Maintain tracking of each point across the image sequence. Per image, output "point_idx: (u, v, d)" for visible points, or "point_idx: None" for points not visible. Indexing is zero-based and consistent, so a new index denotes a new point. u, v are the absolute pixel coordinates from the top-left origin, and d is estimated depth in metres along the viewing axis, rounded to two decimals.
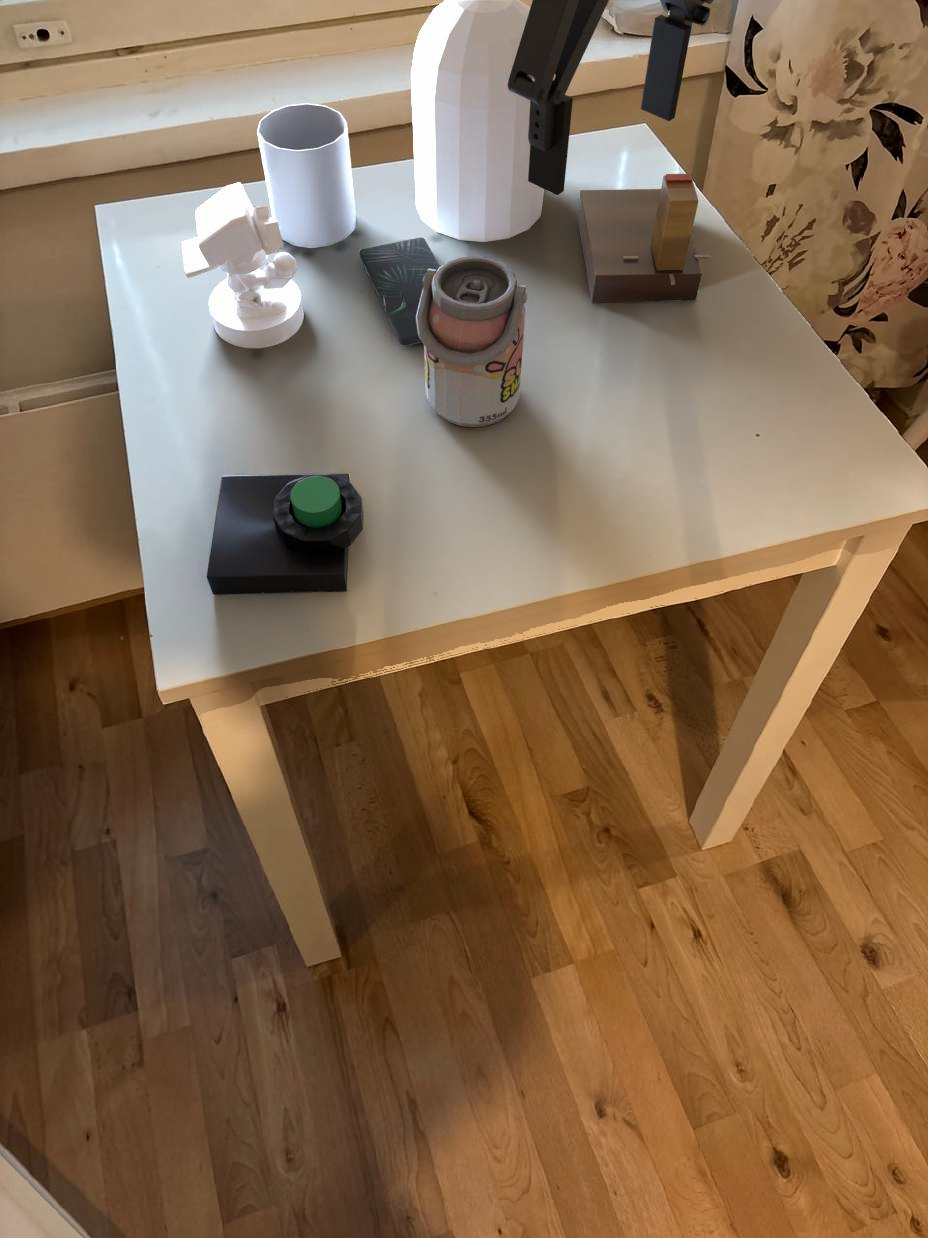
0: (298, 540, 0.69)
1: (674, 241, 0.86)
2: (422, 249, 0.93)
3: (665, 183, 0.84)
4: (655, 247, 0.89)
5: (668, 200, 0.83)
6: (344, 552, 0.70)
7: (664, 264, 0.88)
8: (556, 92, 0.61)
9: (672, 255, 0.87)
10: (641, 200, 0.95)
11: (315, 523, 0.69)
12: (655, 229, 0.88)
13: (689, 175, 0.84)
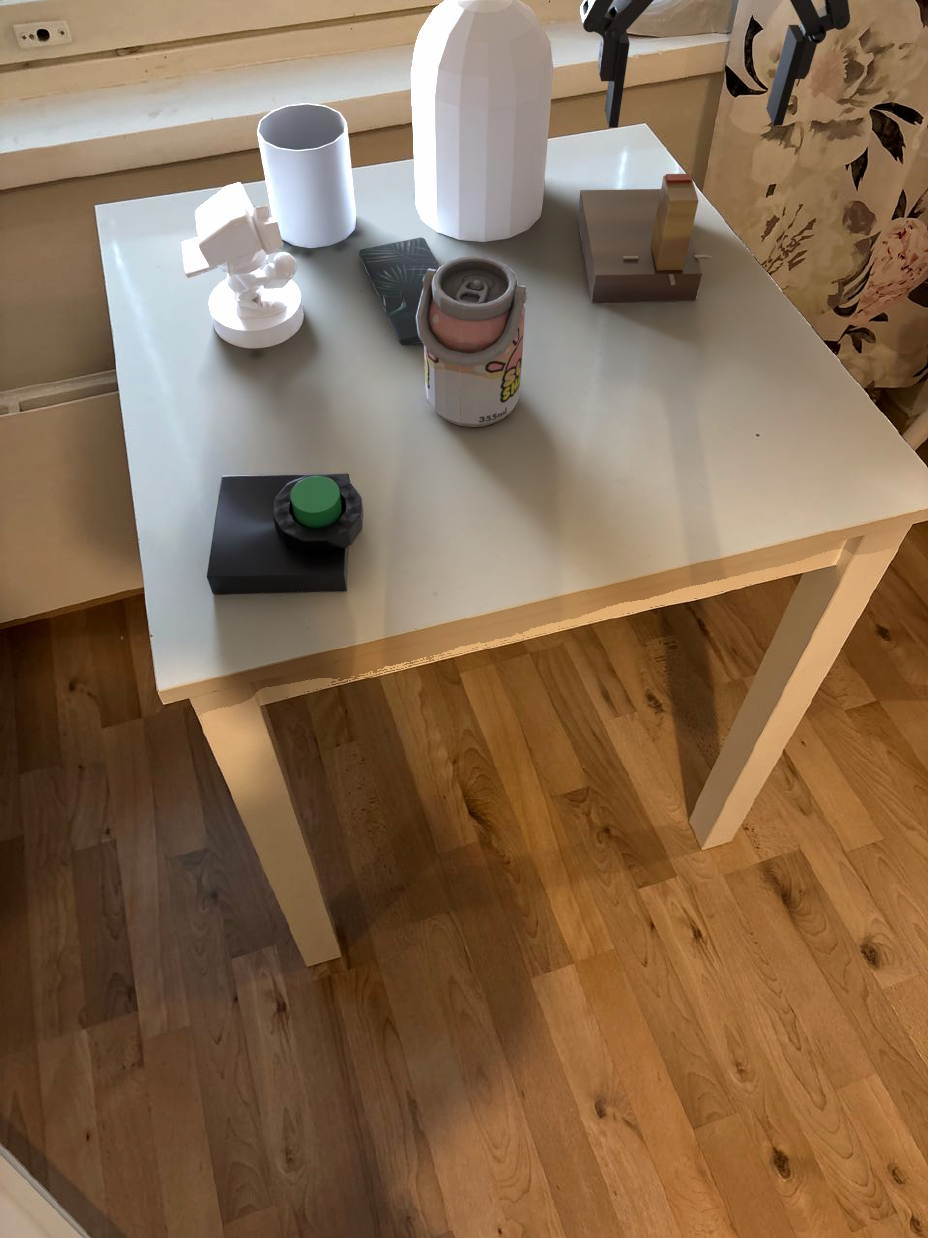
0: (298, 540, 0.69)
1: (674, 241, 0.86)
2: (422, 249, 0.93)
3: (665, 183, 0.84)
4: (655, 247, 0.89)
5: (668, 200, 0.83)
6: (344, 552, 0.70)
7: (664, 264, 0.88)
8: (609, 29, 0.72)
9: (672, 255, 0.87)
10: (641, 200, 0.95)
11: (315, 523, 0.69)
12: (655, 229, 0.88)
13: (689, 175, 0.84)
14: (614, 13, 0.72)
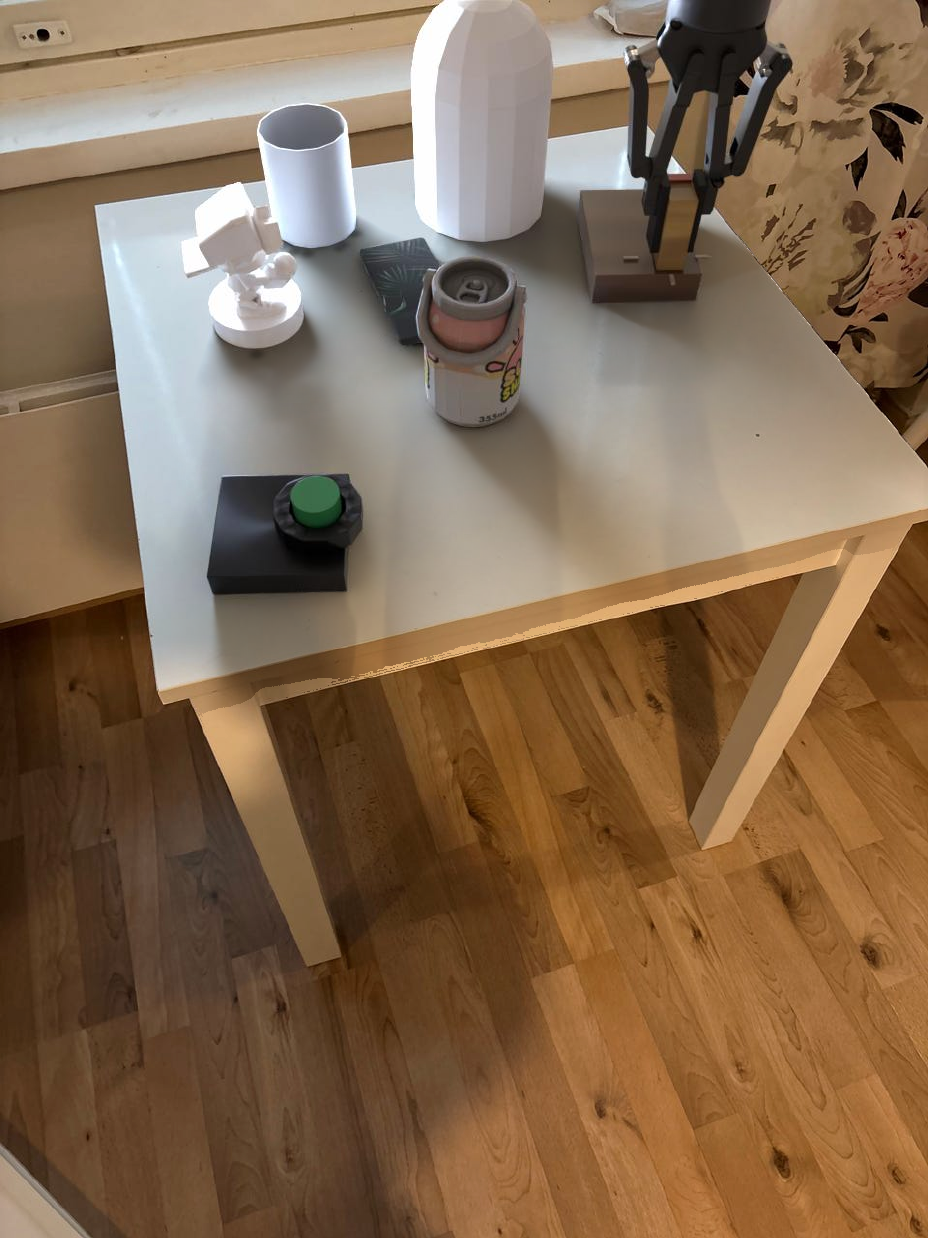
0: (298, 540, 0.69)
1: (674, 241, 0.86)
2: (422, 249, 0.93)
3: None
4: None
5: (668, 200, 0.83)
6: (344, 552, 0.70)
7: (664, 264, 0.88)
8: (652, 178, 0.82)
9: (672, 255, 0.87)
10: None
11: (315, 523, 0.69)
12: None
13: (689, 175, 0.84)
14: None
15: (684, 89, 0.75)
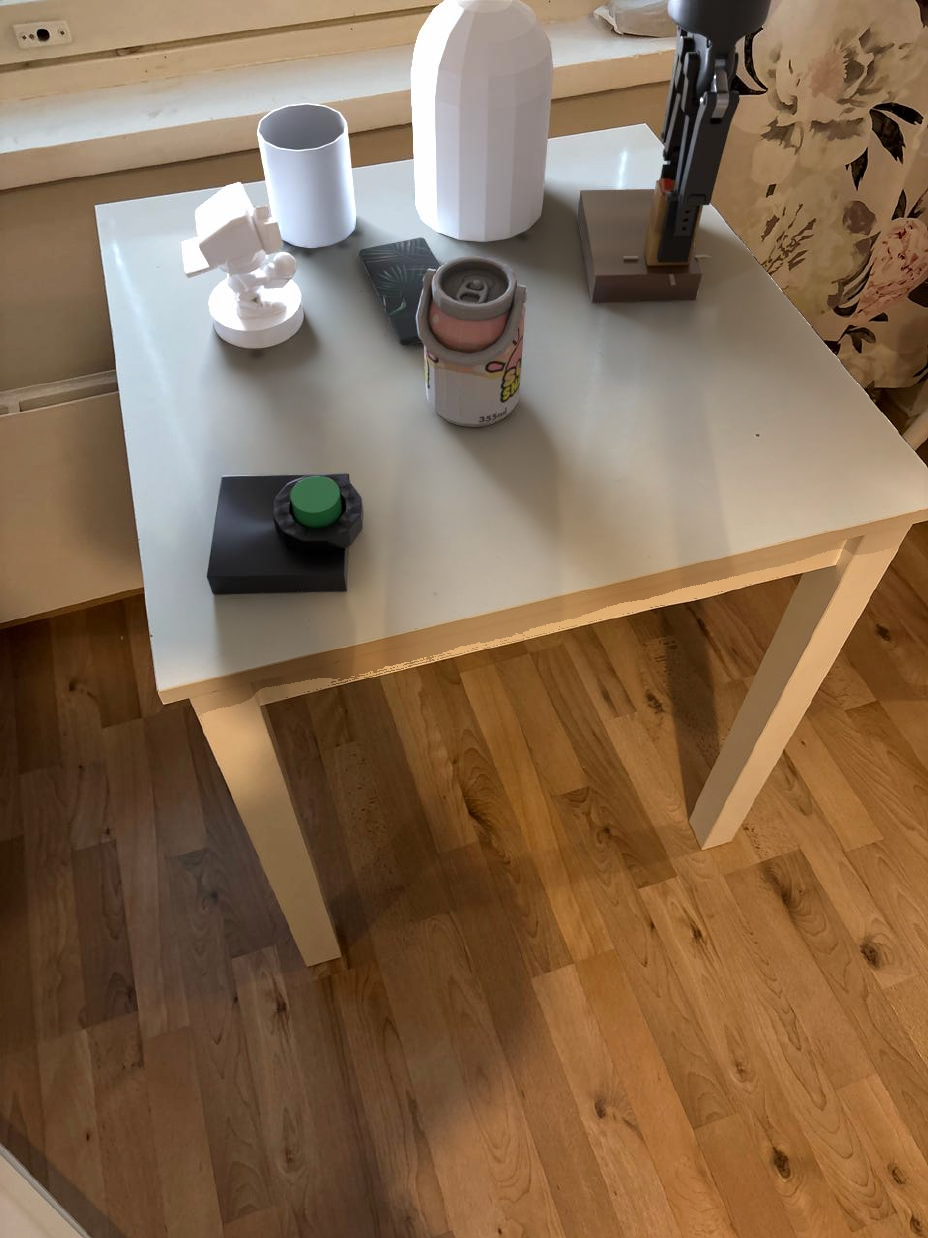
0: (298, 540, 0.69)
1: None
2: (422, 249, 0.93)
3: None
4: None
5: None
6: (344, 552, 0.70)
7: None
8: None
9: None
10: (641, 200, 0.95)
11: (315, 523, 0.69)
12: None
13: (663, 178, 0.84)
14: None
15: None
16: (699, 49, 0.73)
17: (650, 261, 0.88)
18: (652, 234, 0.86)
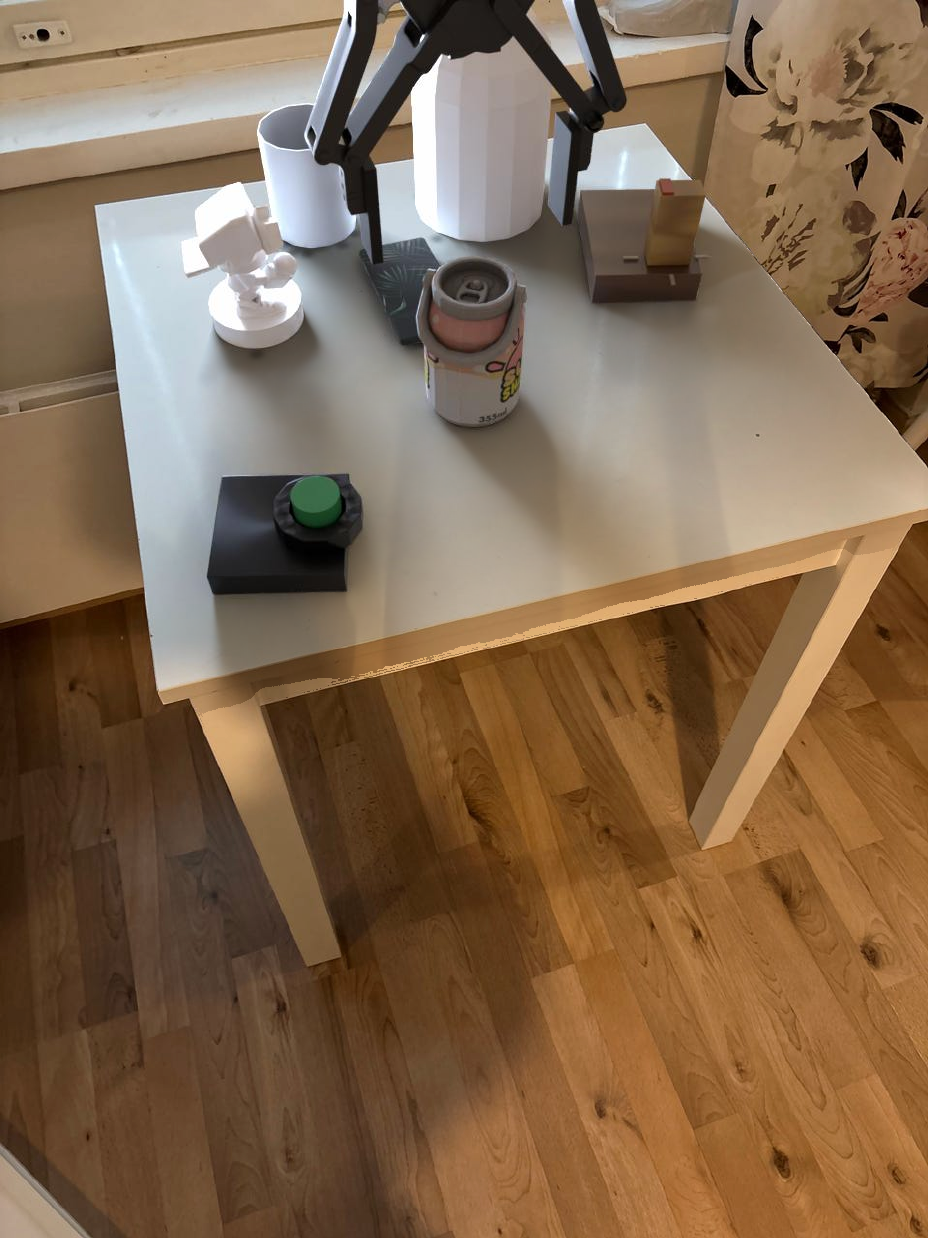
0: (298, 540, 0.69)
1: None
2: (422, 249, 0.93)
3: (673, 196, 0.83)
4: (671, 254, 0.88)
5: (697, 199, 0.83)
6: (344, 552, 0.70)
7: None
8: (347, 157, 0.57)
9: None
10: (641, 200, 0.95)
11: (315, 523, 0.69)
12: (660, 244, 0.87)
13: (663, 178, 0.84)
14: (348, 135, 0.58)
15: (430, 45, 0.53)
16: None
17: (650, 261, 0.88)
18: (652, 234, 0.86)
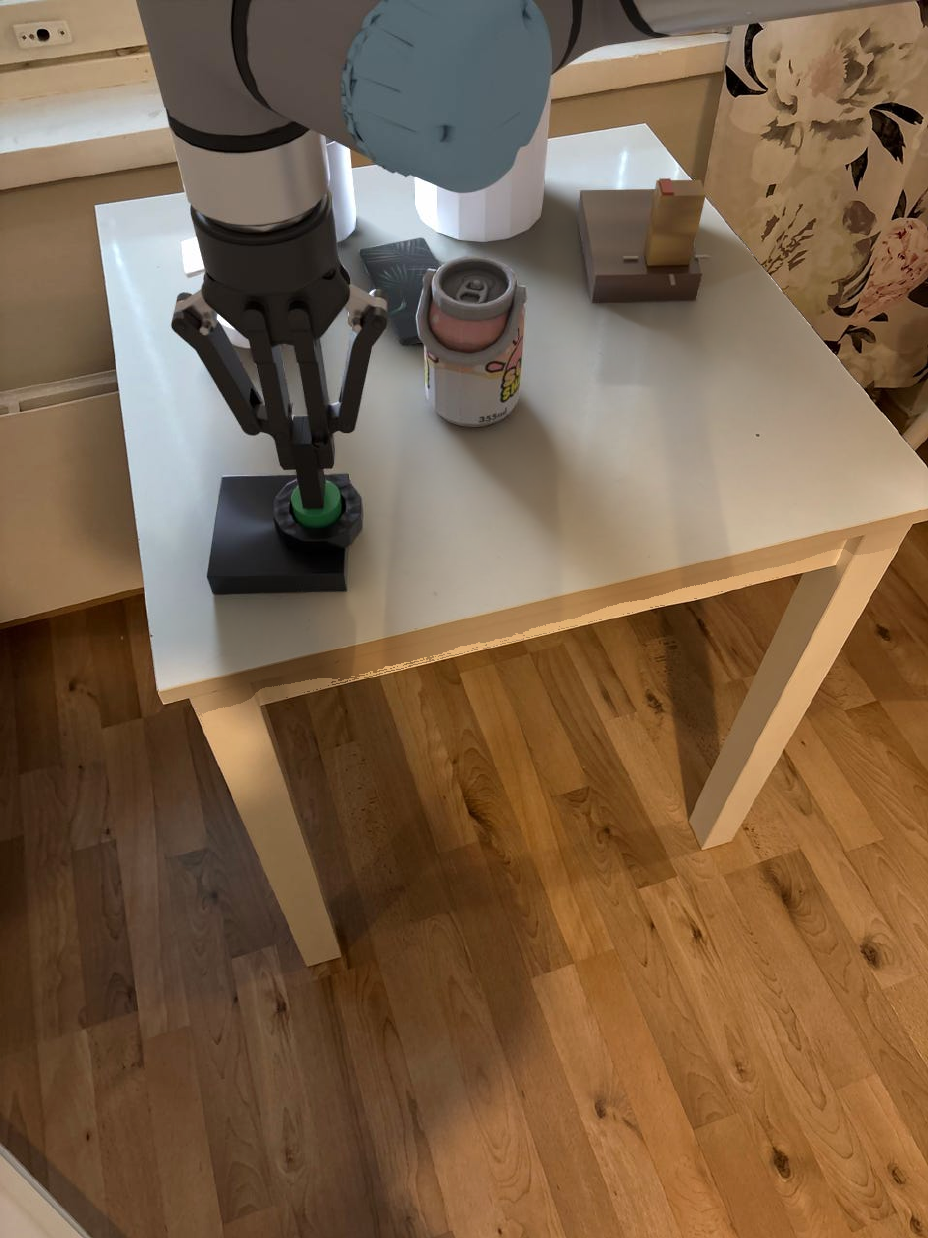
0: (298, 540, 0.69)
1: None
2: (422, 249, 0.93)
3: (673, 196, 0.83)
4: (671, 254, 0.88)
5: (697, 199, 0.83)
6: (344, 552, 0.70)
7: None
8: (273, 436, 0.63)
9: None
10: (641, 200, 0.95)
11: (315, 526, 0.70)
12: (660, 244, 0.87)
13: (663, 178, 0.84)
14: None
15: (256, 347, 0.56)
16: None
17: (650, 261, 0.88)
18: (652, 234, 0.86)
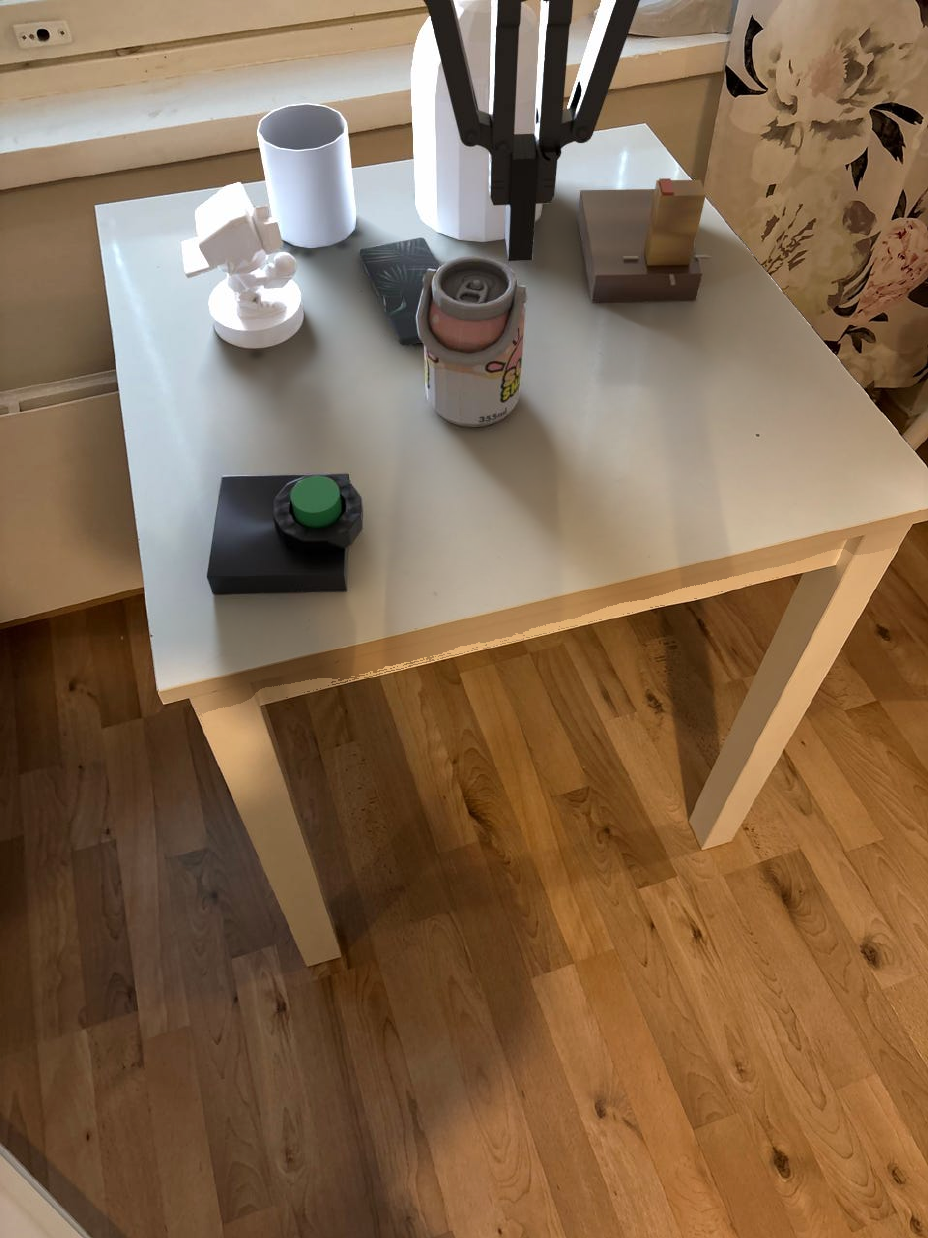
0: (298, 540, 0.69)
1: None
2: (422, 249, 0.93)
3: (673, 196, 0.83)
4: (671, 254, 0.88)
5: (697, 199, 0.83)
6: (344, 552, 0.70)
7: None
8: (495, 147, 0.53)
9: None
10: (641, 200, 0.95)
11: (315, 523, 0.69)
12: (660, 244, 0.87)
13: (663, 178, 0.84)
14: None
15: None
16: None
17: (650, 261, 0.88)
18: (652, 234, 0.86)
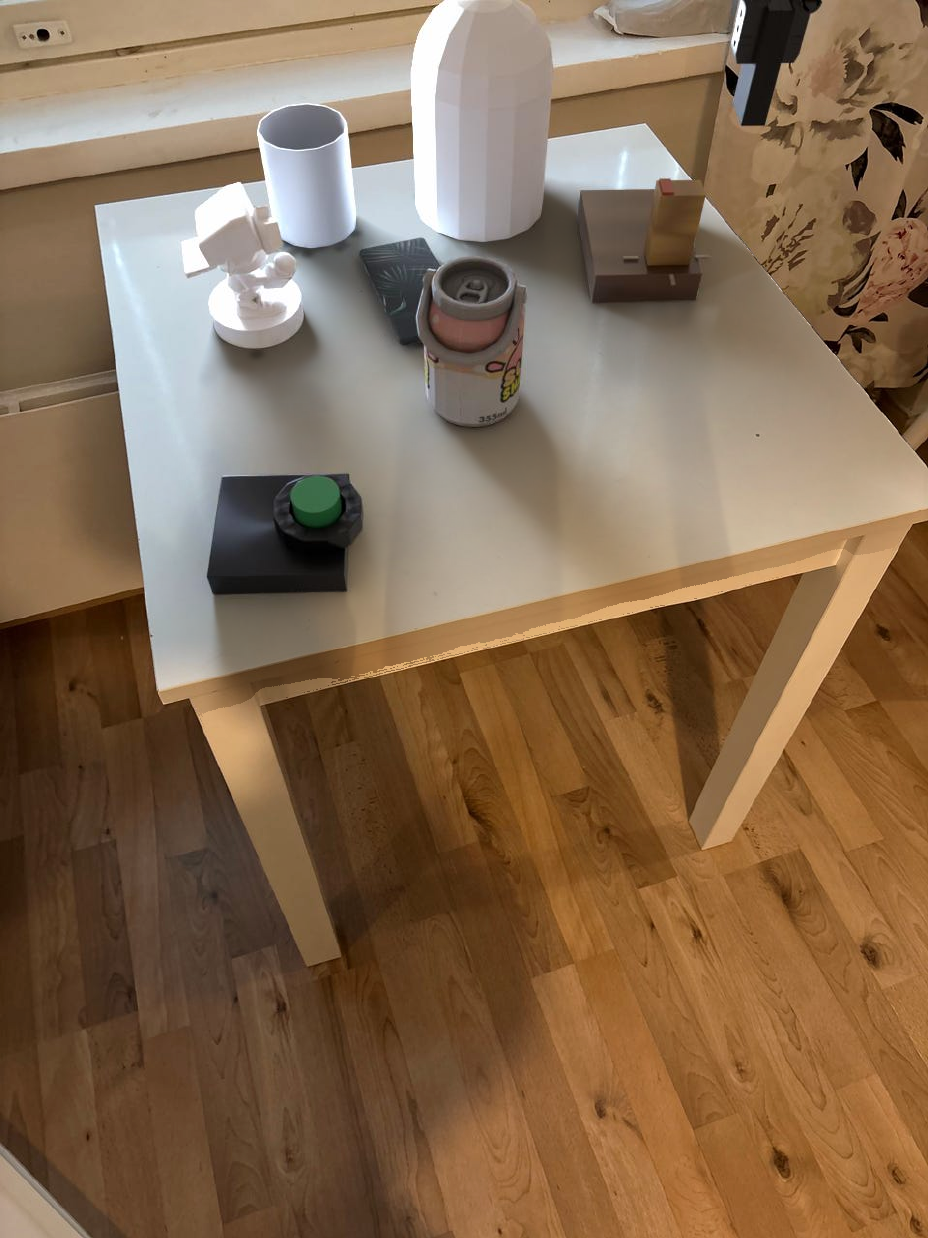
0: (298, 540, 0.69)
1: None
2: (422, 249, 0.93)
3: (673, 196, 0.83)
4: (671, 254, 0.88)
5: (697, 199, 0.83)
6: (344, 552, 0.70)
7: None
8: None
9: None
10: (641, 200, 0.95)
11: (315, 523, 0.69)
12: (660, 244, 0.87)
13: (663, 178, 0.84)
14: None
15: None
16: None
17: (650, 261, 0.88)
18: (652, 234, 0.86)
